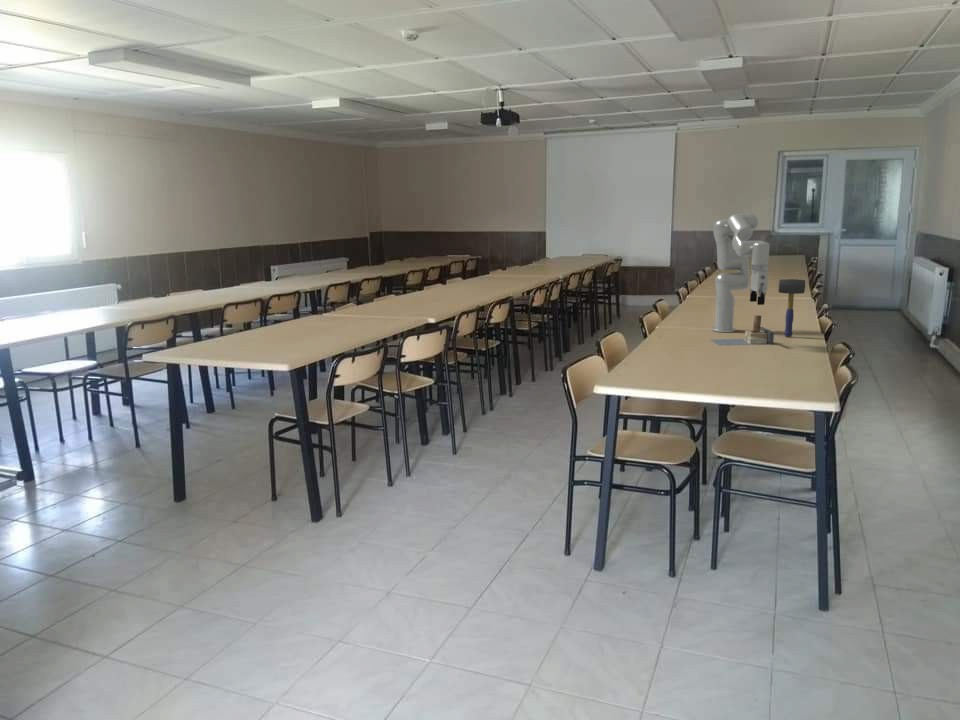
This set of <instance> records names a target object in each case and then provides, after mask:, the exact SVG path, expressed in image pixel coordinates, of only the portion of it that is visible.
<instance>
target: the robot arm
mask: <svg viewBox="0 0 960 720" xmlns="http://www.w3.org/2000/svg"><path fill="white" fill-rule="evenodd" d="M758 225H759V218H758V217H757V215H756V214H754V213H750V212H749V213H735V214H732V215H730V216H729V217H728V218H725V219H720V220H716V221H715V222H714V225H713V231H712V232H713V233H712V234H713V237H714V241H715V244H716V259H717V260H716V261H717V268H718V269H719V270H721V271H737V272H722V273H719V274H717V275H716V277H715V279H714V283H715V284H714V285H715V293H716V294H715V296H716V297H715V314H714V315H715V316H714V317H715V319H714V326H713V327H712V328H711V331H713V332H715V333H716V332H719V333H733V332H736V331H737V328H735V327H734V320H735V319H734V316H735V314H734V313H735V301H736V300H735V296H734V295H733V293H732V292H731V291H742V290H743V291H745V290H747V289H748V288H749V286H750V290H749V291H750V294H749V302H751V303H753V302H757V303H756V305H758V306H764V305H765V299H766V294H767V293H766V292H767V291H768V271H769V259H770V258H769V257H770V243H769V242H767V241H764V240H749V239H751V237H752V235H753V233H754V231H755V230H756V229H757V227H758ZM729 236H733V237H732V239H731V238H730V237H729ZM749 257H751V266H750V265H749V264H750V262H749ZM749 266H750V267H749ZM750 268H751V269H750ZM750 271H751V275H750ZM750 276H751V277H750Z"/></svg>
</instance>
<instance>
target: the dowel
mask: <svg viewBox="0 0 960 720" xmlns="http://www.w3.org/2000/svg"><path fill="white" fill-rule="evenodd" d="M761 323H762V315H757V314H755V315H754V316H753V326H752V331H753V333H760V327H761V325H762V324H761Z"/></svg>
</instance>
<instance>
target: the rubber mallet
mask: <svg viewBox="0 0 960 720" xmlns="http://www.w3.org/2000/svg"><path fill="white" fill-rule="evenodd" d="M805 290H806V280H805V279H799V278H797V279H796V278H795V279H794V278H791V279H790V278H789V279H788V278H786V279H779V282H778V293H779V294H788V296H787V298H788V299H787V308H786V312H785V326H784V327H785V329H784V333H783V334H784V337H786V338H791V337H792V336H793V323H794V316H795V315H794V297H795V294H797V295H798V294H804V293H805Z"/></svg>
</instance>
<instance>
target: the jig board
mask: <svg viewBox="0 0 960 720" xmlns="http://www.w3.org/2000/svg"><path fill="white" fill-rule="evenodd" d="M760 330H761V331H764V332H766V333H768V334H767V343H761V344H750V343H748V342H746V341H744V340H745V338H725V339H723V338H722V339H721V338H720V339H717V338H716V339H715V338H714V339H710V341H711V342H713V343H714V344H716V345H718V346H753V345H754V346H757V345H758V346H760V345H761V346H762V345H763V346H764V345H766V346H767V345H768V346H771V345H774V341H775V340H774V337H775V331H772V330H770V329H768V328H766V327H763V326H760Z"/></svg>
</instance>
